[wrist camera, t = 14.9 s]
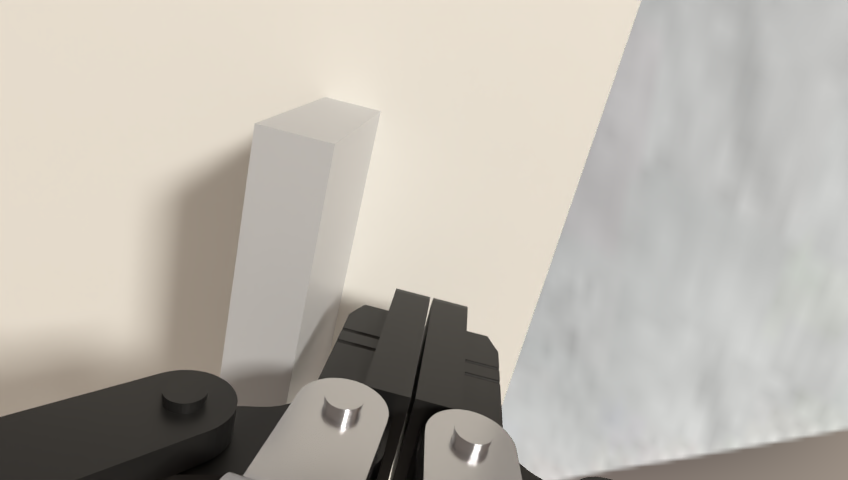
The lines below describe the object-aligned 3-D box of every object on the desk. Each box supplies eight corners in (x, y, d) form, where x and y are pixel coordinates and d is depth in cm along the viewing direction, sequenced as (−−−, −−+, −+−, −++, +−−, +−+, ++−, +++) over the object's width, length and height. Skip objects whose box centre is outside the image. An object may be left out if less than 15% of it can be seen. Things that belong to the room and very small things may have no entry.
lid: (-80, 424, 17) (-278, 561, 13) (-134, -266, 11) (-535, -464, 7) (440, 562, 17) (426, 751, 13) (653, -65, 11) (769, -135, 7)
